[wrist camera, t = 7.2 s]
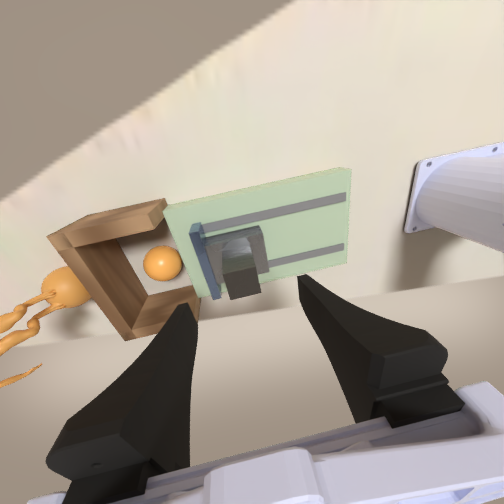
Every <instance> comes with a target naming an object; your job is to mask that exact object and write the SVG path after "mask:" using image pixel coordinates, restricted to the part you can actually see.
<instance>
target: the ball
mask: <svg viewBox="0 0 504 504" xmlns="http://www.w3.org/2000/svg"><path fill="white" fill-rule="evenodd" d="M143 266H144V270H145V272H146V274H147V275H148V276H149V277H150V278H152V279H154V280H157V281H168V280H170V279H173V278H174V277H175V276H177V275H178V273H179V272H180V270H181V267H182V259H181V256H180V254H179V253H178V252H177V251H176V250H175V249H174V248H172V247H169V246H157V247H154V248H153V249H151V250H150V251H149V252H148V253H147V254H146V256H145V258H144V261H143Z"/></svg>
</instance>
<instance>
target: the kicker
mask: <svg viewBox="0 0 504 504" xmlns="http://www.w3.org/2000/svg"><path fill="white" fill-rule="evenodd" d="M188 234H189V236H190V239H191V242H192V244H193V247H194V250H195V253H196V255H197V258H198V261H199V263H200V266H201V269H202V271H203V274H204V277H205V279H206V282H207V285H208V288H209V290H210V293H211V296H212V298H213V300H215V299H219V298H221V283H225V284H226V288H227V291H228V294H229V297H230V300H233V299H237V298H241V297H246V296H250V295H254V294H258V293H261V288H260V284H259V279H258V275H259V274H264V273H268V272H270V270H269V265H268V259H267V253H266V248H265V242H264V236H263V232H262V230H261V228H260V226H259V225H257V226H253V227H248V228H244V229H239V230H235V231H231V232H226V233H222V234H217V235H213V236H209V237H206V236H205V233H204V230H203V227H202V224H201V222H198V223H194V224H192V225H191V228H190V231H189V233H188Z"/></svg>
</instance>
